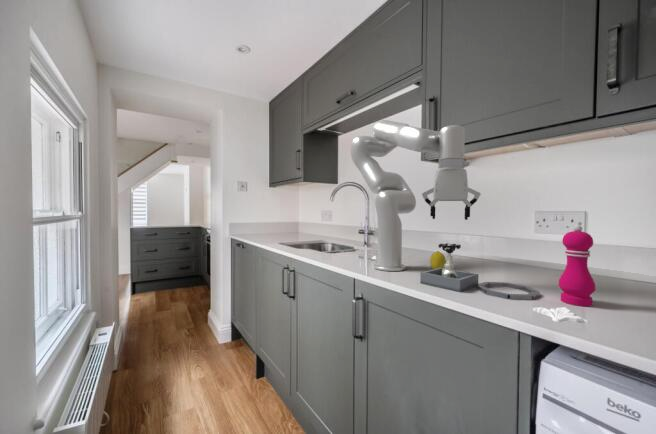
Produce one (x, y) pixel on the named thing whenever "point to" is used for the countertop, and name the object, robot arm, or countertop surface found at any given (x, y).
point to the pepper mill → (577, 269)
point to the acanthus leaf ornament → (560, 314)
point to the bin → (449, 280)
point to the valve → (449, 260)
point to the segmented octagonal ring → (483, 288)
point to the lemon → (437, 260)
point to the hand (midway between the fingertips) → (449, 219)
